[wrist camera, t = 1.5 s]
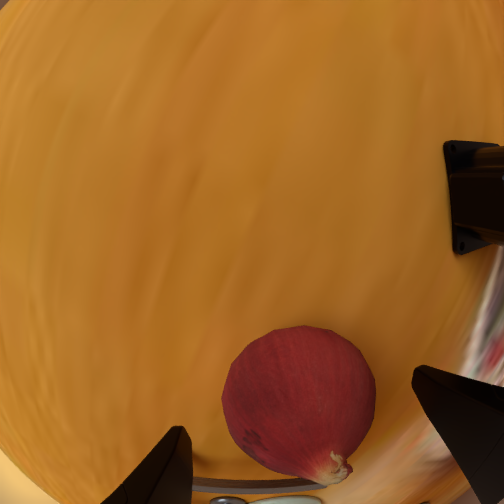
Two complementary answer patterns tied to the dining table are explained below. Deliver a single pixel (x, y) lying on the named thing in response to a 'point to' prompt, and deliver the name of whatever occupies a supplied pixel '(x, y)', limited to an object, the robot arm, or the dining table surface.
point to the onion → (300, 402)
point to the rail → (250, 487)
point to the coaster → (289, 500)
